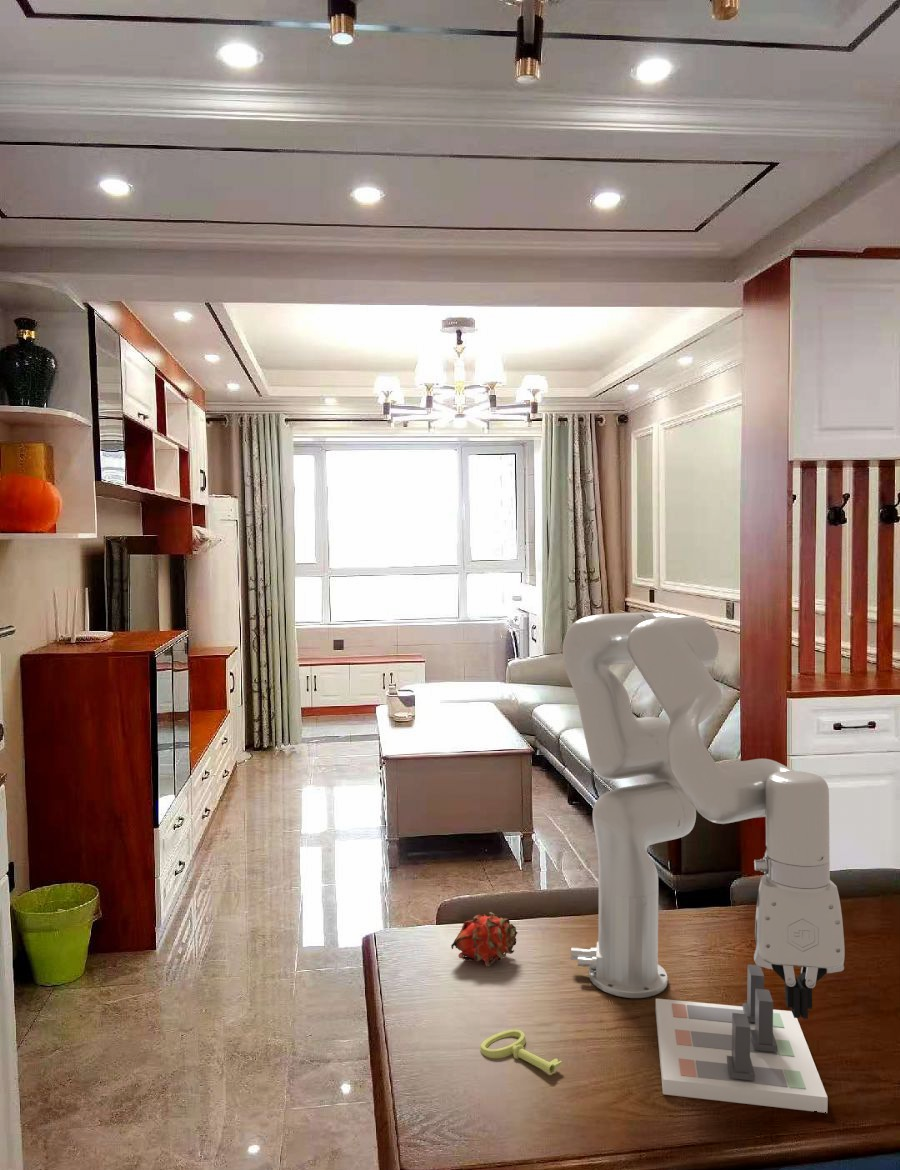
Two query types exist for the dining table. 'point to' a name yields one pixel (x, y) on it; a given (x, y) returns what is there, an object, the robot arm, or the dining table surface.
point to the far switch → (753, 990)
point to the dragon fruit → (485, 939)
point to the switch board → (704, 1041)
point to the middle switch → (763, 1022)
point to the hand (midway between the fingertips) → (798, 1012)
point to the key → (517, 1051)
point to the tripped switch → (740, 1049)
